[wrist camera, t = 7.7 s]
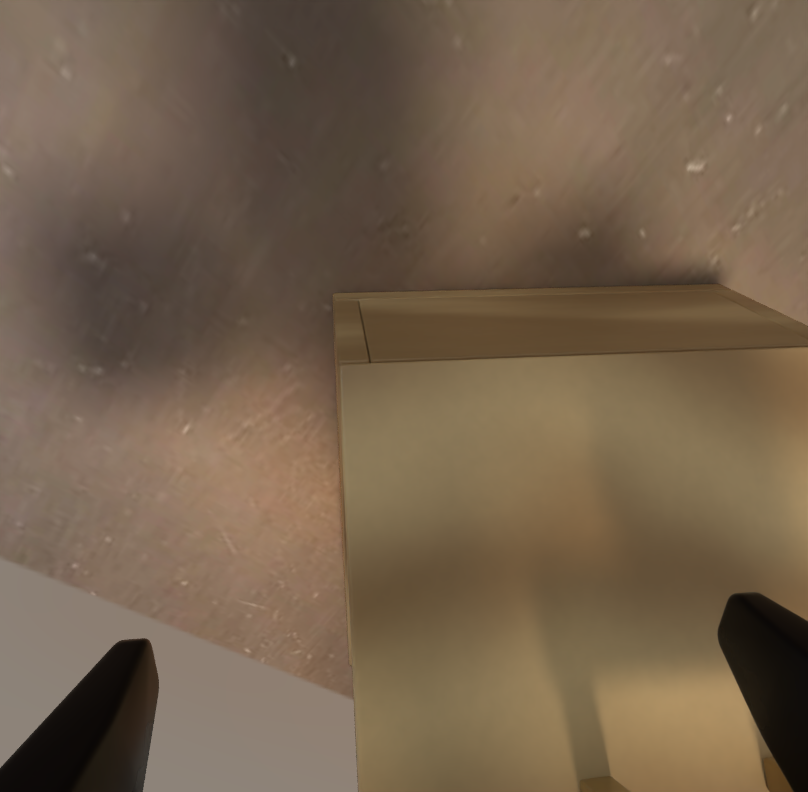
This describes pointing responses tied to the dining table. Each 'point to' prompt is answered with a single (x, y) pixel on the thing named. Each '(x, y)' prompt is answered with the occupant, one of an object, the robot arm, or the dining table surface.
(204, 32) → the dining table surface
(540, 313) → the storage box
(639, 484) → the box door
